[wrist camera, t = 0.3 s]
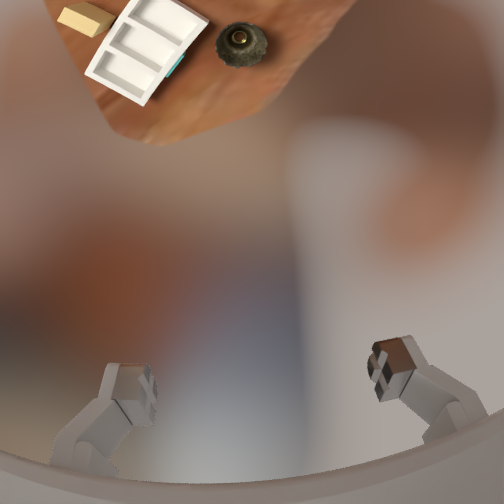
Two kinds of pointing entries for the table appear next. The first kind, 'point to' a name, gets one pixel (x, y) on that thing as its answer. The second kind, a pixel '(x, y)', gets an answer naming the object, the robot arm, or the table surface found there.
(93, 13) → the panel
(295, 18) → the table surface
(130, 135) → the table surface
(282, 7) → the table surface
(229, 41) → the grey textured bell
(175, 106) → the table surface
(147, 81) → the rack
